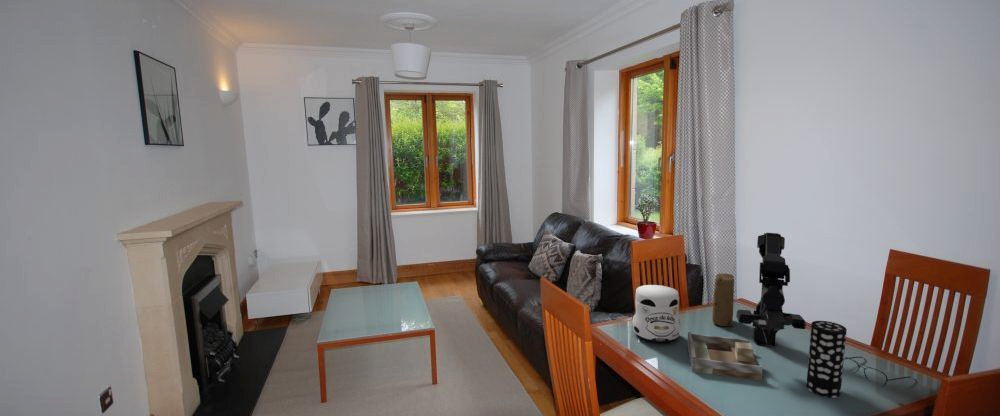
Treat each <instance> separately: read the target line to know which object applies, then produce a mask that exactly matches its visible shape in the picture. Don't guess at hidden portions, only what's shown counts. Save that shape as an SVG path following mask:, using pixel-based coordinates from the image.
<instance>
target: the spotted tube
mask: <svg viewBox="0 0 1000 416" xmlns="http://www.w3.org/2000/svg"><path fill="white" fill-rule="evenodd" d="M810 326H811V327H810V337H809V338H810V339H809V348H808V361H807V373H806V383H805V384H806V385H805V386H806V390H809V391H810V392H811V393H813V394H815V395H818V396H820V397H824V398H830V399H831V398H832V399H834V398H839V397H840V396H841V391H842V383H843V373H844V372H843V370H844V362H845V361H844V360H845V359H844V358H845V350H846V341H847V339H846V338H847V327H846V326H844V325H842V324H839V323H836V322H834V321H833V322H832V321H827V320H814V321H812V322H811V324H810Z"/></svg>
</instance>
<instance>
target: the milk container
mask: <svg viewBox="0 0 1000 416" xmlns="http://www.w3.org/2000/svg"><path fill="white" fill-rule="evenodd" d="M679 295H680V294H679V292H678V290H677V289H675V288H672V287H669V286H665V285H661V284H660V285H659V284H658V285H657V284H646V285H641V286H638V287H637V288H636V290H635V300H634V301H635V308H634V309H635V310H634V313H633V316H632V330H633V332H634V334H636V335H637V336H638V338H641V339H643V340H646V341H650V342H656V343H667V342H672V341H674V340H676V339H677V338H678V337H679V335H680V332H681V321H680V318H679V307H680V306H679V305H680V303H679V302H680V297H679Z"/></svg>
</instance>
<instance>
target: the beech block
mask: <svg viewBox="0 0 1000 416" xmlns="http://www.w3.org/2000/svg"><path fill="white" fill-rule="evenodd" d="M753 356H754V349H753V345H752V344H751V343H741V342H735V357H736V359H737V361H745V362H752V359H753Z"/></svg>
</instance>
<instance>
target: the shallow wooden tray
mask: <svg viewBox="0 0 1000 416" xmlns="http://www.w3.org/2000/svg"><path fill="white" fill-rule="evenodd" d="M735 342H741V343H750V342H751V341H750V339H744V338H735V337H724V336H717V335H705V334H697V333H692V332H690V331H689V332H687V349H688V356H689V362H690V367H691V368H690V369H691V372H693V373H701V374H708V375H717V376H723V377H725V376H726V377H731V378H732V377H733V378H739V379H746V380H756V381H762V380H763V379H762V378H763V366H762V365H758V362H757V360H756V358H755V357H754V355H753V359H752V362H745V361H737V359H736V357H735ZM750 344H751V343H750Z"/></svg>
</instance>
